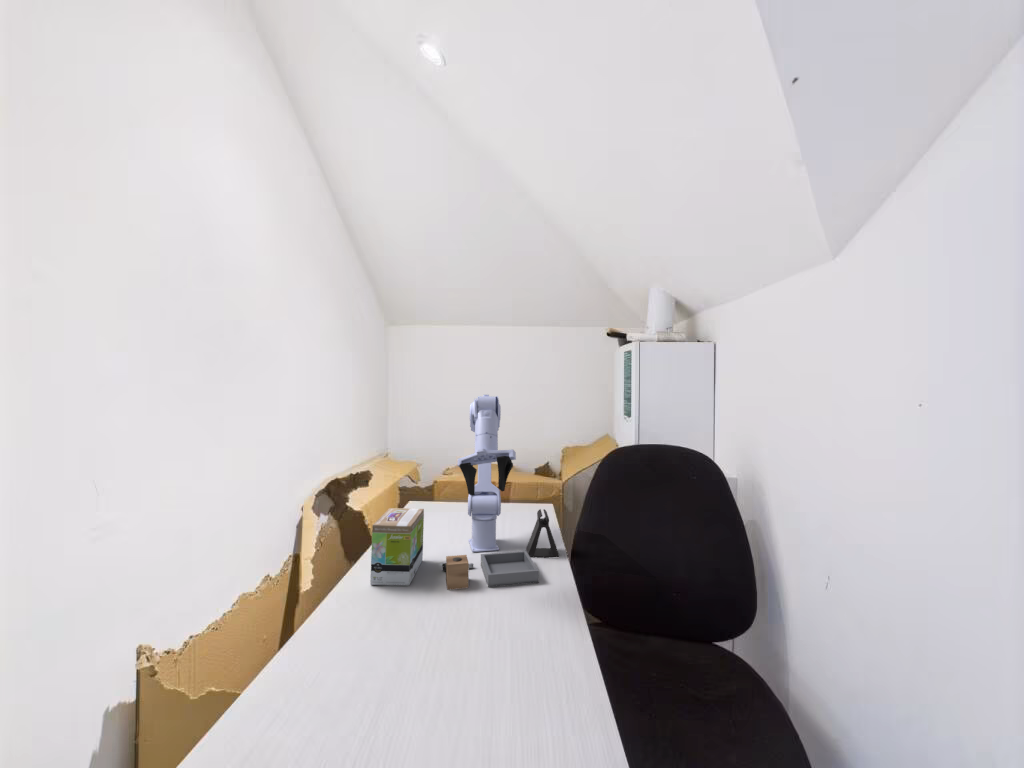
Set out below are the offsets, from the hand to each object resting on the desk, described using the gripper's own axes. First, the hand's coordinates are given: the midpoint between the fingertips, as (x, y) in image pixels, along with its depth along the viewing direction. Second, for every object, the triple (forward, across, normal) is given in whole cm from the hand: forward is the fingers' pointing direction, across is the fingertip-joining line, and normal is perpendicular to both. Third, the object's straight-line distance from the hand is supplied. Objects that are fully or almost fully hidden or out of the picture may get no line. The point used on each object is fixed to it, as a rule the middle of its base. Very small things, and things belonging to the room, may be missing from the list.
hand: (486, 492), depth 98 cm
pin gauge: (+13, -16, +19) cm, 28 cm away
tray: (+15, -3, +22) cm, 27 cm away
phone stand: (+8, +3, +36) cm, 37 cm away
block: (+17, -13, +13) cm, 25 cm away
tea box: (+14, -30, +13) cm, 35 cm away
